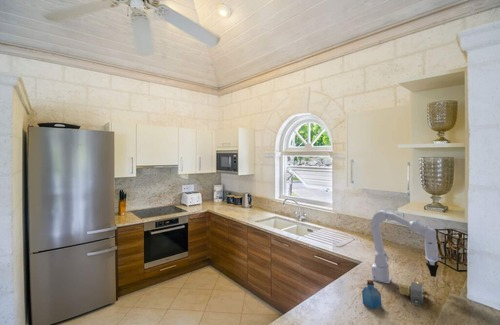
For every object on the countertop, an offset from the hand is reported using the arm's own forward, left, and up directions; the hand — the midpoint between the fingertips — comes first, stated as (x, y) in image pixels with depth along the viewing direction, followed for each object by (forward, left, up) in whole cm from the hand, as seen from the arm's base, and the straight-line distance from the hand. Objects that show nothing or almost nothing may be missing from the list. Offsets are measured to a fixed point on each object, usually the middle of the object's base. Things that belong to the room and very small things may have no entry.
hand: (433, 273), depth 134 cm
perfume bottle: (-26, -33, -10) cm, 43 cm away
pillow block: (-7, -14, -10) cm, 18 cm away
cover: (-7, -3, -10) cm, 12 cm away
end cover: (-10, -14, -10) cm, 20 cm away
